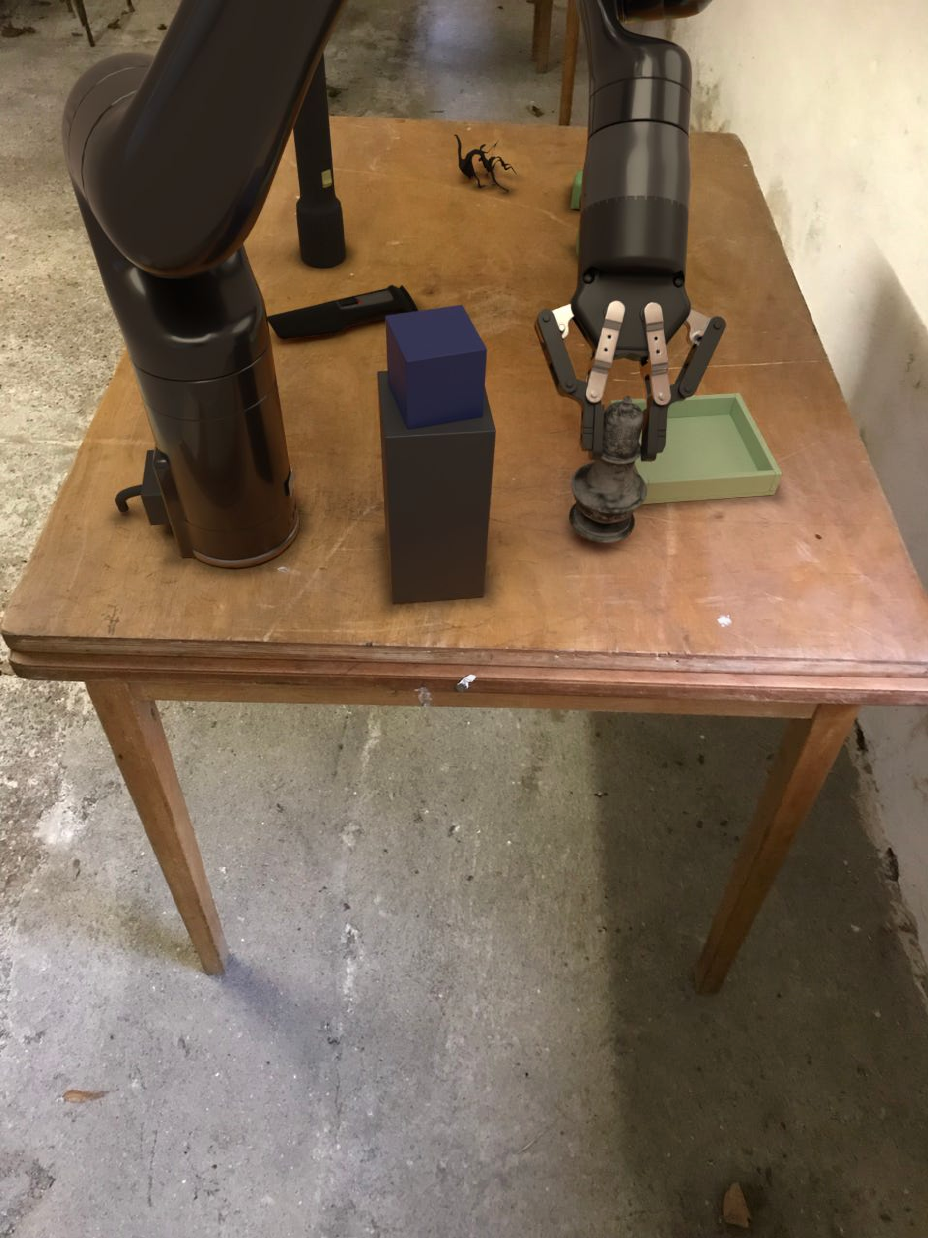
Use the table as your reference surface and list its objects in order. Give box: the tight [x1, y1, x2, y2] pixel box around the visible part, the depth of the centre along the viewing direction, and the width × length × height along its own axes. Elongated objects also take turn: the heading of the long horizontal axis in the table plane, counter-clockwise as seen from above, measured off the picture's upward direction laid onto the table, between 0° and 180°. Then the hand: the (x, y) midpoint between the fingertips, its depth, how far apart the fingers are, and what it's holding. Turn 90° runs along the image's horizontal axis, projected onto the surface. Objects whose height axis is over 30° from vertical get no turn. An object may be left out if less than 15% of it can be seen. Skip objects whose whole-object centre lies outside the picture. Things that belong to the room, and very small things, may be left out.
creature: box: [453, 134, 517, 192], centre depth 111 cm, size 8×5×8 cm
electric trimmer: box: [267, 284, 419, 340], centre depth 90 cm, size 4×16×3 cm, turn 115°
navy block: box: [384, 304, 488, 430], centre depth 56 cm, size 5×5×5 cm
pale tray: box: [609, 392, 783, 505], centre depth 79 cm, size 12×11×2 cm
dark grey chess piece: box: [568, 395, 647, 544], centre depth 67 cm, size 6×6×12 cm
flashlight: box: [292, 52, 347, 269], centre depth 91 cm, size 5×24×5 cm
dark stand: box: [376, 370, 497, 605], centre depth 64 cm, size 7×7×16 cm
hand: (622, 458), depth 64 cm, fingers closed on dark grey chess piece, 3 cm apart
